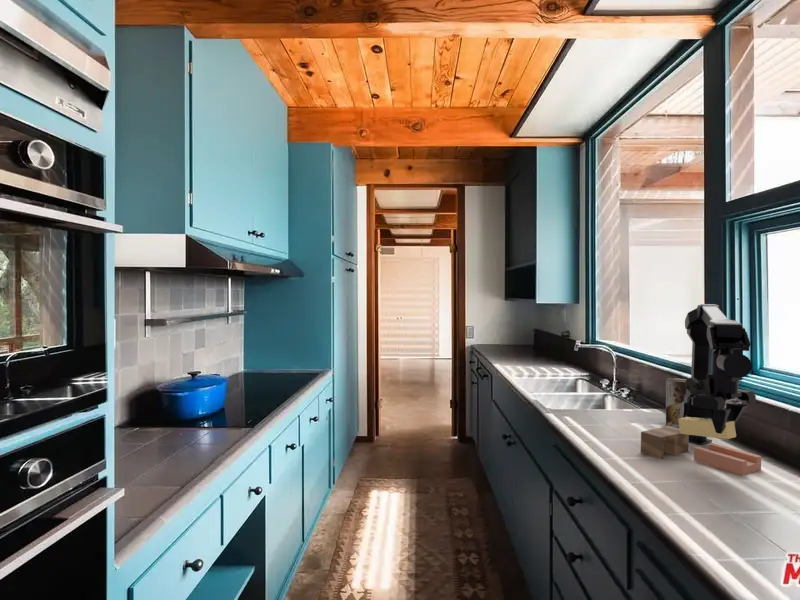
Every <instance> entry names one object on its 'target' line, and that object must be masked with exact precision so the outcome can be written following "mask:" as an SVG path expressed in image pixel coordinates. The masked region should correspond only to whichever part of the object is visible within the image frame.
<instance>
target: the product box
mask: <svg viewBox="0 0 800 600" xmlns="http://www.w3.org/2000/svg"><path fill="white" fill-rule="evenodd" d="M686 379H687V378H678V377H677V378H676V377H667V378H666V380H665V426H664V427H666V426H671V427H675V428H679V421H678V419H679V418H680V408H681V405H682V402H684V395H685V394H686V393H687V392H688V390H687V389H685V383H686ZM685 416H686V415H685ZM679 429H680V428H679Z"/></svg>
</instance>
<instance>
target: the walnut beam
mask: <svg viewBox="0 0 800 600" xmlns="http://www.w3.org/2000/svg"><path fill="white" fill-rule="evenodd" d="M689 442H690V441H689V435H688V434H680V428H678V427H671V426H663V427H662V426H661V427H657V428H653V429H647V430H643V431H641V432H640V453H642V454H644V455H648V456H651V457H653V458H657V459H660V460H663V459H664V453H666V454H670V455H672V456H678V455H680V454H684V453H688V452H689V446H690V445H689Z"/></svg>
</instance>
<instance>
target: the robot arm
mask: <svg viewBox="0 0 800 600" xmlns="http://www.w3.org/2000/svg"><path fill="white" fill-rule="evenodd" d="M684 327H685V329H686V334H687V336H688V337H689V339H690V340H691V343H692V345H691V348H692V349H691V368H690V369H691V371H690V378H685V379H686V383H685V389H687V390H688V392H687V393H686V394H685V395H684V402H682V405H681V408H680V418H684V417H694V418H706V419H712V422H713V425H714V428H715V431H716V433H719V434H721V433H722V431H723V428H724V426H725V423H726V421H727V420H730V421H734V424H735V425H736V423H737V421H738V420H739V419H740V417H741V416H742V415H743V413H744V411H745V410H746V408H748V404H754V403H756V400H757V399H756V398H757V395H756V394H755V393H754V392H753V391H752V390H746V389H741V388H739V381H743V378H744V377H746V376H748V375H749V374H750V373H751V371H752V368H753V364H752V361H751V360H750V358H749V357H747V356H746V355H745V354H743V352H744V351H745V352H750V347H751V342H750V338H749V334H748V332H747V331H746V328H745V327H744V326H743V325H742V323H741V322H739V321H738V320H734V319H729V318H728V317H727V316H726V315H725V314H724V312H722V311H721V309H720V305H718V304H715V303H714V304H713V303H711V304H710V303H701V304H698V305H697V307H696V308H694V309H693V310H690V311H688V312H687V314H686V316H685V320H684ZM710 349H711V351H712V352H711V369H710V370H711V371H710V372H711V373H709V368H710ZM743 401H745V402H747V404H746V403H745V404H744V403H742V402H743ZM685 415H686V416H685ZM689 442H690V443H694V444H698V445H704V444H710V443H713V440H712V439H709V438H708V437H705V436H696V435H689Z"/></svg>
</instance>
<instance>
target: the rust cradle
mask: <svg viewBox="0 0 800 600" xmlns="http://www.w3.org/2000/svg"><path fill="white" fill-rule="evenodd" d="M693 449H694V451H693V461H695V462H697V461H698V463H701V464H704V465H707V466H710V467H713V468H717V469H719V470H720V469H721V470H723V471H726V472H729V473H733V474H736V475H739V476H745V475H748V473H749V474H752V473H754V471H755V472H758V471H761V470H760V469H762V455H758V454H754V453H752V452H747V451H744V450H741V449H737V448H733V447H729V446H726V445H723V444H718V443H715V442H714V443H713V442H710V443H708V449H707V448H704V447H701V446H697V447H693ZM757 470H758V471H757ZM751 472H752V473H751Z"/></svg>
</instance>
